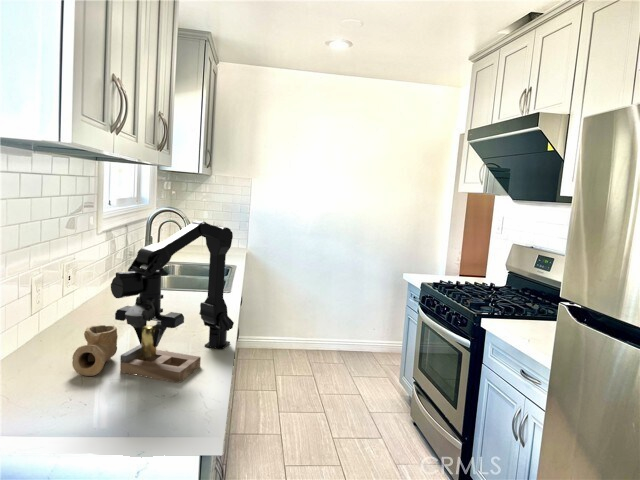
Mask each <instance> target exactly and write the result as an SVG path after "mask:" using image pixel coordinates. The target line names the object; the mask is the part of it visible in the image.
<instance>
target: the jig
mask: <svg viewBox="0 0 640 480" xmlns="http://www.w3.org/2000/svg"><path fill="white" fill-rule="evenodd" d="M201 360H202V359H201V356H199V355H192V354H185V353H179V352H174V351H169V350H163V349H162V350H161V349H156V355H155V356H153V357H143V356H141V344H140V343H139V344H138V345H137V346H135V347H133V348H131V349H129V350H128V351H125V352H124V353H122V354H120V362H119V363H120V365H119V367H120V370H119V371H120V372H125V373H124V374H126V373H130V374H129V375H132V374H137V375H142V376H141V377H143V376H147V377H146V378H148V377H152V378H151V379H154V378H156V379H155V380H160V379H162V380H161V381H165V380H168V381H167V382H171V381H173V382H172V383H176V382H180V383H181V382H183V379H184V380H186V378H187V376H188V377H189V376H190V375H191V374H193V373H194V372H195V371H197V370H198V369H199V368H201ZM137 375H136V376H137Z"/></svg>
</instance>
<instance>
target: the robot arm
mask: <svg viewBox="0 0 640 480" xmlns="http://www.w3.org/2000/svg"><path fill="white" fill-rule="evenodd" d="M233 236H234V235H233V231H232V230H231V229H230V228H229V227H226V226H225V227H224V226H219V225H212V224H210V223H208V222H206V221H202V220H201V221H200V220H194V221H192V222H190V224H188V225H187V226H185V227H183V228H182V229H181V230H179V231H177V232H176V233H174V234H172V235H171V236H169V237H168V238H166V239H164V240H163V241H162V240H161V242H155V243H152V244H149V245H146V246H144V247H142V248H140V249H139V250H138V251H137V255H136V257H135V258H134V260H133V262H132V263H130V264H131V265H130V266H129V267H128V269H127V271H123V272H122V271H119V272H115V276H114V277H113V279H112V280H111V283H110V291H111V294H112V296H113V297H114V298H115V299H123V298H127V297H129V298H130V297H134V296H136V298H135V303H134V305H126V306H123V307H120V308H118V309H117V310H116V311H115V313H114V320H116V321H121V322H124V321H126V324H127V325H130V326H131V327H132V328H133V329H134V332H135V334H136V336H137V339H138V341H139V345H140V344H141V345H142V327H143V326H147V323H148V322H151V321H155V322H156V323H155V325H153V326H152V327H153V329H154V347H156V348H157V347H158V346H159V343H160V342H161V339H162V338H163V335H164V333H165V332H166V330H167V329H175V328H178V327H179V326H181V325H182V324H184V323H185V316H184V315H183V313H180V312H174V311H170V312H168V313H167V314H162V313H163V312H164V308H162V307H161V305H162V303H161V302H162V301H161V300H162V299H164V294H162V277H166V276H169V273H168V272H167V271H166V270H165V269H164V267H165V266H166V265H167V264H168V263H170V261H171V259H172V257H173V256H174V255H175V254H176V253H178V252H179V251H181V250H182V249H183V248H185V247H187V246H188V245H189V244H191V243H192V242H194V241H196V240H197V239H199V238H200V237H203V238H204V239H205V245H206V247H207V250H208V252H209V269H208V284H207V297H206V299H204V301H203V302H202V301H201V302H200V305H199V307H200V310H199V315H200V318H201V320H202V321H203V325H204V326H205V327H208V328H209V331H208V332H209V333H208V342H207V343H205V344H204V347H206V348H210V349H211V348H212V349H219V350H224V349H225V348H226V347H227V346H229V345H230V344H231V341H228V340H227V339H228V338H227V336H228V332H229V331H230V330H233V327H234V324H235V321H233V320H232V319H231V318H230V316H228V305H227V304H226V301H225V299H224V291H225V289H224V288H225V274H226V273H225V272H226V256H227V254H228V252H229V250H230V249H231V247H232V244H233V243H232V242H233V238H234V237H233Z"/></svg>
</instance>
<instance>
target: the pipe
mask: <svg viewBox="0 0 640 480" xmlns="http://www.w3.org/2000/svg"><path fill="white" fill-rule="evenodd" d="M83 335H84V340H85V341H86V342H87V344H85V345H81V346H79V347H77V349H75V350H74V353H73V355H72V359H71V360H72V362H71V364H72V368H73V370H74V371H75V372H76V373H78V374H79V375H81V376H86V377H93V376H96V375H98V374H100V373H101V371H102V370H103V369H104V365H105V363H106V362H108V361H109V360H111V358H112V357H114V356H115V355H116V354H117V351H118V336H119V335H118V329H117V327H116V326H115V325H103V324H102V325H91V326H87V327H86V328H85V330H84V333H83Z"/></svg>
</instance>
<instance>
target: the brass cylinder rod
mask: <svg viewBox="0 0 640 480" xmlns="http://www.w3.org/2000/svg"><path fill="white" fill-rule="evenodd" d="M152 326H154V325H146V326H143V327H142V345H141V356H143V357H153V356H155V355H156V350H157V347H154V329H153V327H152Z"/></svg>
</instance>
